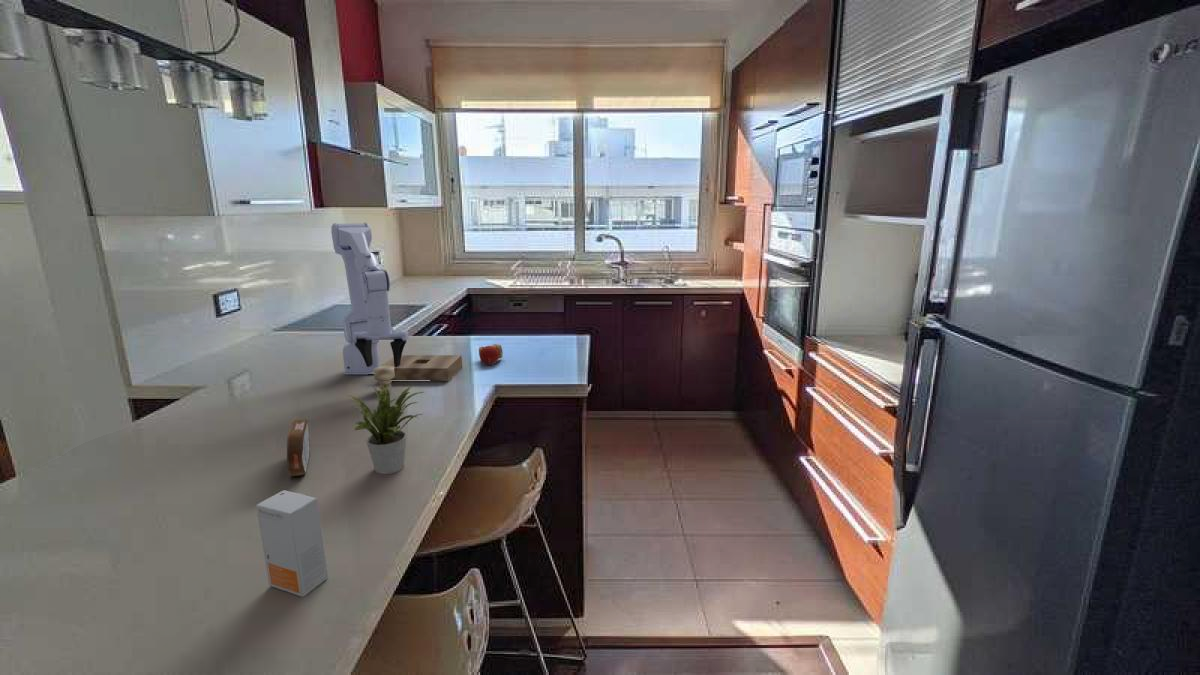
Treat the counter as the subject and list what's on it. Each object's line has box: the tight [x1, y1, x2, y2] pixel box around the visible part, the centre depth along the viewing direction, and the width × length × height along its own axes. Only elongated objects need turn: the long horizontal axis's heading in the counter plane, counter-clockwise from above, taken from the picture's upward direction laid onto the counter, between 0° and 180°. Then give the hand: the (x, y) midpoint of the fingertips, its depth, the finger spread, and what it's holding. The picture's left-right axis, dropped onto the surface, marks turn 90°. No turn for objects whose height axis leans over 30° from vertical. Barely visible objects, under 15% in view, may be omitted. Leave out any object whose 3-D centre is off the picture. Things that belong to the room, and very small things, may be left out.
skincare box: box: [255, 489, 329, 598], centre depth 70 cm, size 6×4×12 cm
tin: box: [286, 418, 311, 478], centre depth 104 cm, size 15×3×8 cm, turn 23°
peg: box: [373, 365, 395, 390], centre depth 148 cm, size 5×5×6 cm
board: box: [380, 354, 463, 382], centre depth 161 cm, size 20×14×4 cm
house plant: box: [346, 384, 425, 475], centre depth 101 cm, size 14×14×16 cm
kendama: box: [478, 343, 504, 366], centre depth 177 cm, size 8×6×18 cm
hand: (383, 365), depth 147 cm, fingers open, 7 cm apart
